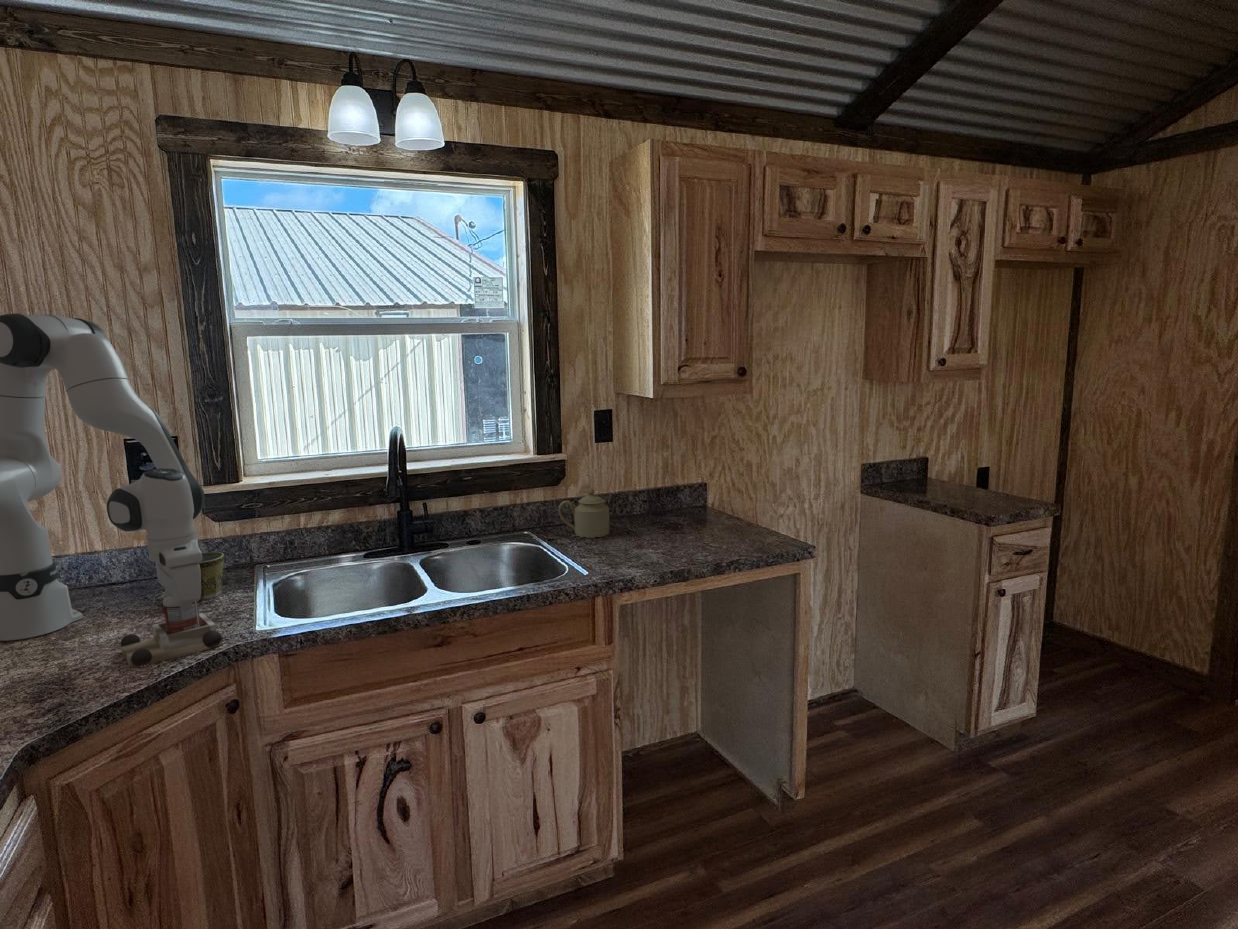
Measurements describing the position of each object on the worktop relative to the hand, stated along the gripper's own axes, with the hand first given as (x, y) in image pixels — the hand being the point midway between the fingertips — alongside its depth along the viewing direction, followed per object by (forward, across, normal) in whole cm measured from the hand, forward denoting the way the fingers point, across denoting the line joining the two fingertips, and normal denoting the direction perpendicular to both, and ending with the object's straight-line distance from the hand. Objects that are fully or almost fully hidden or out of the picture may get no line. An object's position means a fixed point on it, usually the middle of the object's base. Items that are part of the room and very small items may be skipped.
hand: (181, 613), depth 155 cm
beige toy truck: (+7, 0, -2) cm, 7 cm away
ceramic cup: (+7, -33, +12) cm, 36 cm away
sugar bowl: (+7, -6, +115) cm, 115 cm away
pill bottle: (+5, 0, 0) cm, 5 cm away
